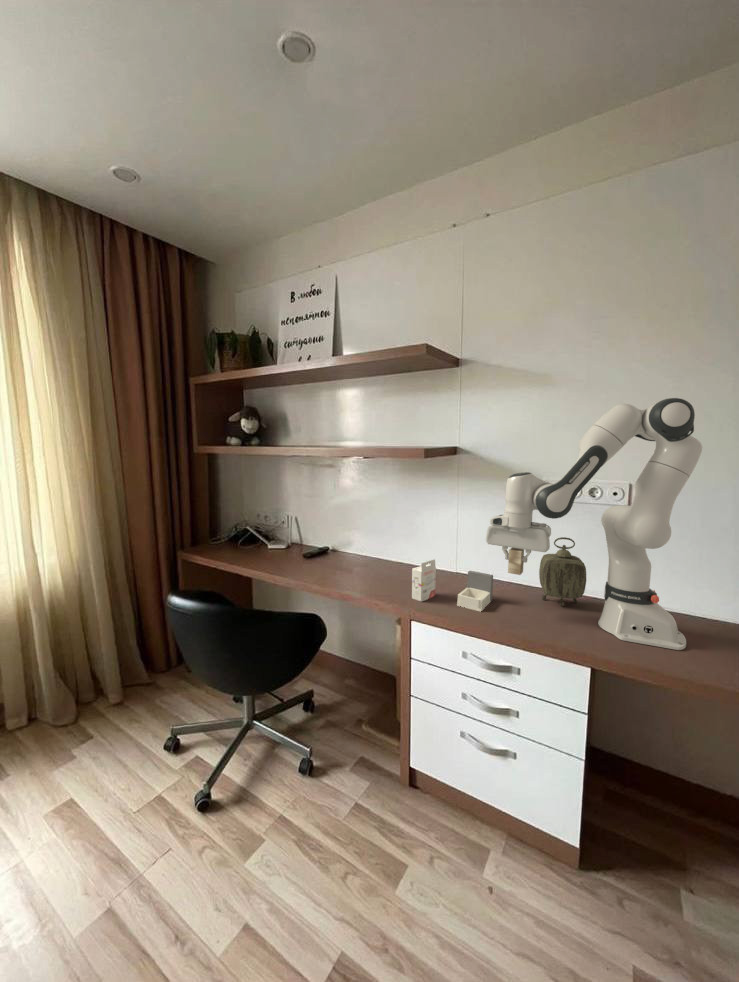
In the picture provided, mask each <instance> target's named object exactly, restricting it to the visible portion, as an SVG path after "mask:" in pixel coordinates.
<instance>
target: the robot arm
mask: <svg viewBox="0 0 739 982" xmlns="http://www.w3.org/2000/svg"><path fill="white" fill-rule="evenodd" d="M695 416H696V415H695V409H694V406H693V405H692V403H690V402H689V401H688V400H686V399H683V398H678V397H670V398H665V399H662V400H660V401H658V402H656V403H654V404H651V405H650V406H648V407H647V408H645V409H639V408H637V407H636V406H634V405H632V404H629V403H618V404H616V405H614V406H613V407H612V408H610V409H609V410H608V411H607V412H605V413H604V414H603V415H601V416H600V417H599V418H598V419H597V420H596V421H595V422H594V423H593V424H592V425H591V426H590V427H589V428H588V429H587V430H586V431H585V432H584V434H583V436H582V437H581V439H579V442H578V451H579V453H578V458H576V459H577V460H576V461H575V463H573V465H572V466H571V467H570V468H569V469H568V470H567V471H566V472H565V474H564V475H563V476H562V477H561V478H560V479H559V480H557V482H555V483H551V482H549V481H546V480H543V479H541V478H539V477H538V476H536V475H534V473H532V472H527V471H526V472H518V473H513V474H511V475H509V476H508V478H507V480H506V484H505V496H504V500H505V508H504V513H503V514H499V515H495V516H493V517H491V518H490V519H489V525H488V527H487V530H486V534H485V535H486V537H485V540H486V541H485V542H486V543H487V545H491V546H497V547H498V546H499V547H501V548H502V549H501V550H502V551H503V553H504V555H505V556H504V559H505V560H508V559H509V548H510V549H511V548H518V549H524V551H525V553H526V554H525V555H524V556H523V557H522V562H524V563H527V562H528V558H529V556H530V555H531V553H532V552H540V553H547V552H548V551H549V550H550V547H551V540H550V536H551V535H552V528H551V526H550V525H548V524H547V523H543V522H542V523H540V522H536V521H535V522H534V521H533V514H534V513H533V511H537V510H538V511H539V513H540V514H541V515H542V516H543V517H545V518H548V519H560V518H563V517H564V516H566V515H568V513H570V511H571V509H572V507H573V506H574V505H573V504H574V503H575V499H576V498H577V496H578V494H579V493H580V492H581V490H582V489H583V488H584V487H585V486H586V485H587V484H588V482H589V481H591V479H592V478H593V477H594V476H595V475H596V474H597V472H598V471H599V470H601V468H602V467H603V466H604V465H605V464H606V463H608V461H609V460H611V459H612V458H613V457H614V456H615V455H617V454H618V452H620V450H621V449H623V448H624V447H625V445H626V444H627V443H628V442H629V441H630V440H631V439H632V438H634V437H636V438H638V439H642V440H644V441H648V442H655V449H654V452H653V454H652V455H651V457H650V459H649V460H648V462H647V463H646V465H645V466H644V468H643V470H642V471H641V473H640V475H639V476H638V478H637V479H636V481H634V482H635V483H634V490H635V491H634V497H633V500H632V503H631V505H627V504H618V505H612V506H609V507H607V508H606V509H605V510H604V511H603V513H602V515H601V518H600V519H601V520H600V522H601V526H602V527H603V529H604V533H605V540H606V546H607V547H606V548H607V552H608V553H607V555H608V567H607V568H608V569H607V571H608V572H607V581H606V583H605V585H604V595H603V597H604V605H603V608H602V612H601V614H600V617H599V619H598V623H597V624H598V626H599V627H600V628H601V629H603V630H604V631H606V632H607V633H610V634H612V635H613V636H614V637H616V638H617V639H619V640H621V641H624V642H630V643H636V644H641V645H649V646H654V647H659V648H665V649H671V650H677V651H682V650H684V649H685V648H687V639H686V637H685V635H684V634H683V633H682V632H681V631H679V630H678V625H677V624H678V623H677V622H676V621H677V620H676V619H675V617H674V616H673V615H672V614H671V613H670V612H669V611H667V610H666V609H665V608H663V607H662V606H661V605H660V604H658V603H660V597H659V596H658V593H657V592H656V590H655V589H654V590H653V589H651V588H650V586H651V585H650V584H651V575H652V564H651V561H650V558H649V557H648V556H649V555H648V554H647V550H646V549H648V550H649V549H650V550H652V549H653V550H655V549H660V548H662V547H663V546H665V545H666V544H667V543H668V542H669V541H670V539H671V537H672V528H671V525H670V521H671V520H670V519H671V514H672V511H673V507H674V504H675V502H676V500H677V497H678V496H679V494H680V493H681V491H682V490H683V488H684V486H685V485H686V483H687V481H688V480H689V478H690V477H691V475H692V473H693V471H694V470H695V468H696V466H697V464H698V462H699V459H700V457H701V455H702V454H701V453H702V451H703V445H702V443H701V441H700V440H698V439H697V438H696V437H694V436H692V434H693V433H694V431H695V427H694V426H695Z"/></svg>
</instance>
